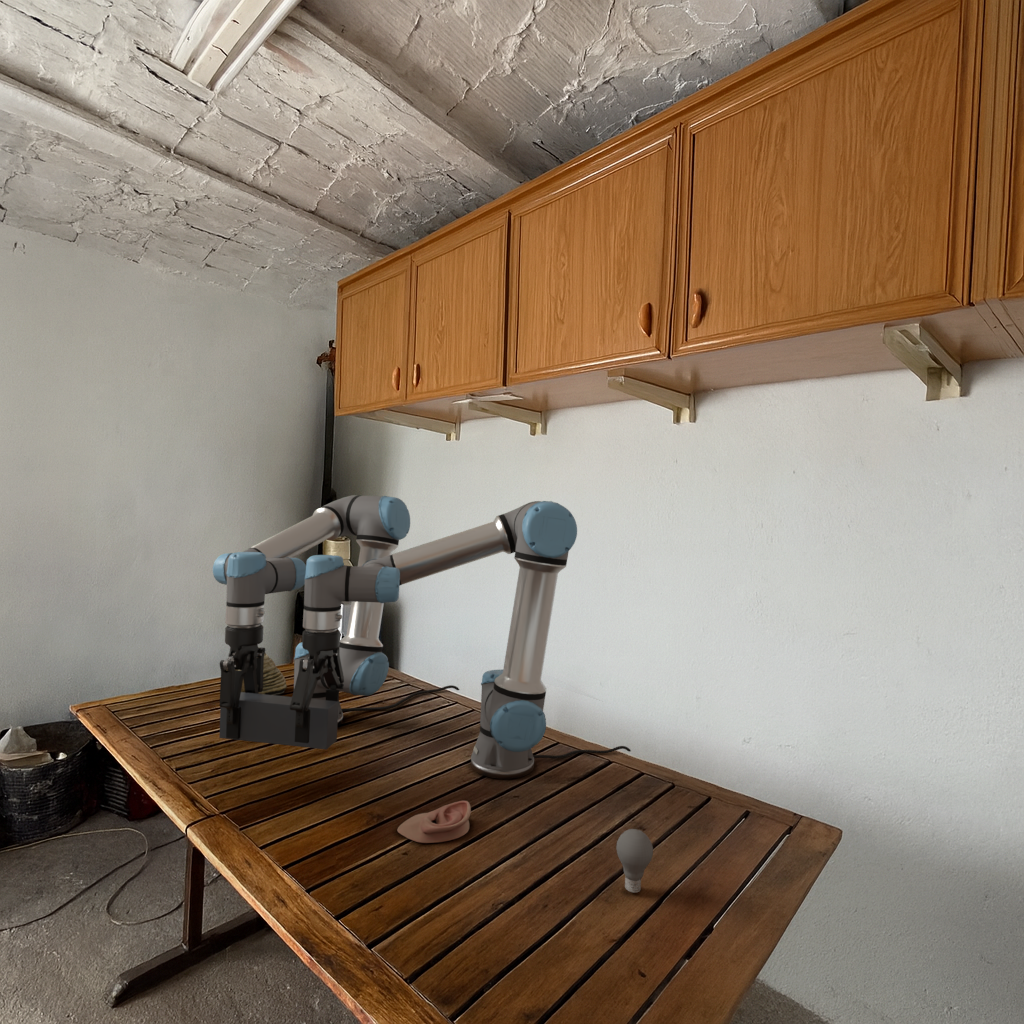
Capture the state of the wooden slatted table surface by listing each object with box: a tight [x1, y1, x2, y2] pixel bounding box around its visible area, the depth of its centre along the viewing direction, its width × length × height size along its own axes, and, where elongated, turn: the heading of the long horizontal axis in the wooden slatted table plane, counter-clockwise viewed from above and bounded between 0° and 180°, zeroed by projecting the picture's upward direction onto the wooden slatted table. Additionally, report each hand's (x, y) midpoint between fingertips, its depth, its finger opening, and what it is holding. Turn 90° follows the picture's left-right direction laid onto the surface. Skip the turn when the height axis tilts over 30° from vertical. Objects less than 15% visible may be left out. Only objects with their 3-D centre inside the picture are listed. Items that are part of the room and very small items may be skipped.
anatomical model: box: [396, 800, 472, 844], centre depth 123 cm, size 13×4×12 cm
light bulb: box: [615, 828, 654, 894], centre depth 106 cm, size 6×6×10 cm
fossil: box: [237, 652, 288, 696], centre depth 198 cm, size 9×18×15 cm, turn 132°
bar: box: [218, 692, 338, 750], centre depth 134 cm, size 24×5×8 cm, turn 81°
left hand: (240, 732), depth 136 cm, fingers closed on bar, 5 cm apart
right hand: (317, 730), depth 133 cm, fingers open, 13 cm apart
